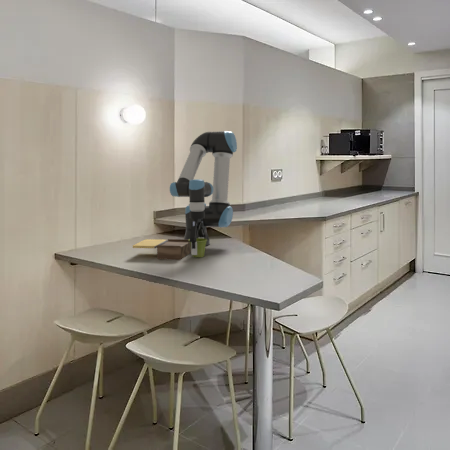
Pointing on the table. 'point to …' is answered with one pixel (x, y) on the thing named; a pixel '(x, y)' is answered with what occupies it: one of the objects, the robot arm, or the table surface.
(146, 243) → the pale yellow rectangular panel
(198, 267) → the table surface
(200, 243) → the plant pot
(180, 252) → the brown cardboard box
